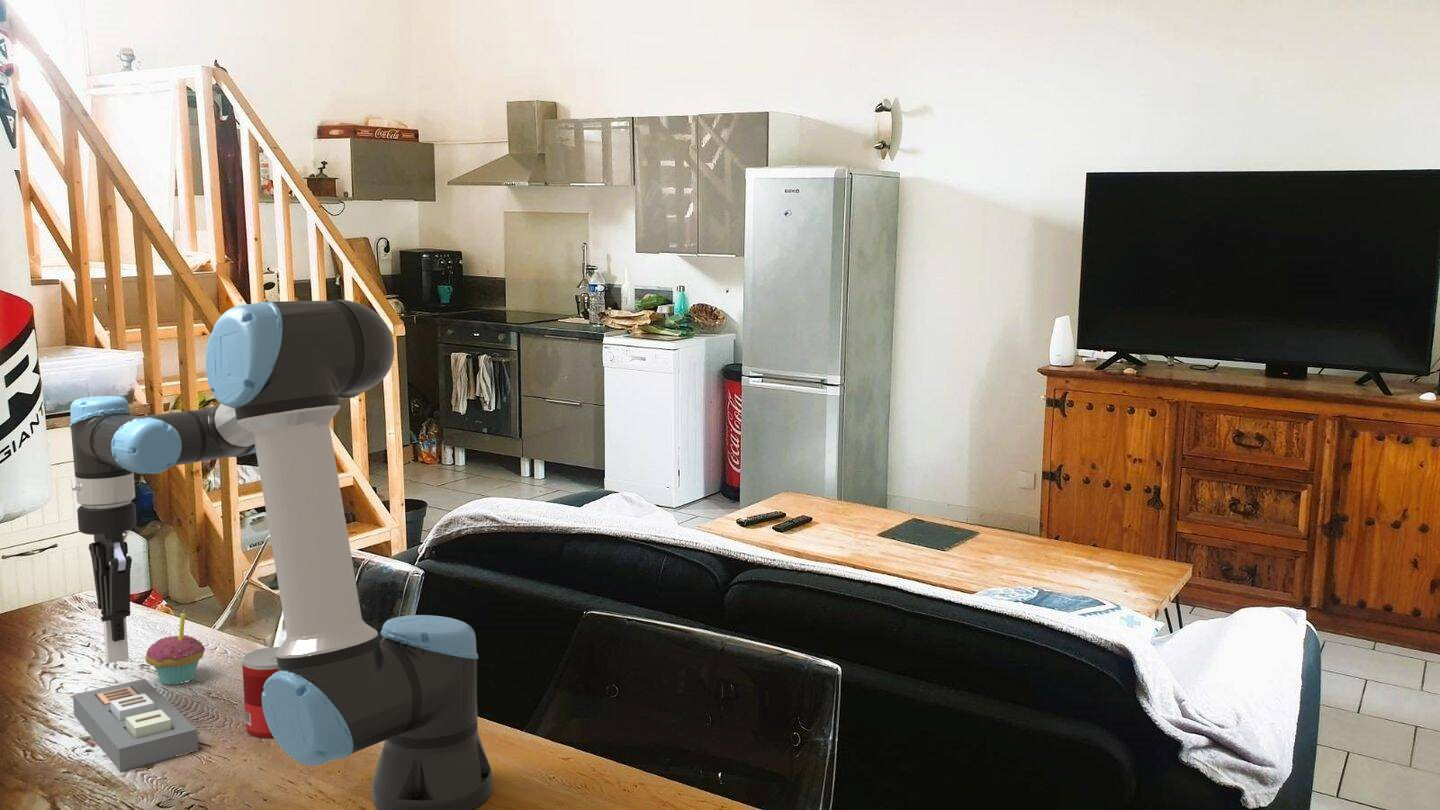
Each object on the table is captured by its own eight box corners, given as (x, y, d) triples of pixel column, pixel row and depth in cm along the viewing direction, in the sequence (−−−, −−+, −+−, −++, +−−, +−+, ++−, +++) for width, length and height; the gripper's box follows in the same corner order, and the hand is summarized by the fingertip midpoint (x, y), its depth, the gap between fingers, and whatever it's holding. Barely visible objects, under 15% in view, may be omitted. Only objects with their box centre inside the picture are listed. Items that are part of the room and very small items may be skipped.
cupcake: (216, 672, 192) (213, 601, 191) (184, 692, 184) (180, 618, 182) (169, 668, 194) (165, 598, 192) (135, 687, 185) (130, 614, 184)
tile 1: (171, 734, 163) (170, 718, 163) (136, 743, 160) (135, 727, 160) (161, 724, 166) (160, 708, 166) (126, 732, 163) (125, 716, 163)
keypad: (198, 750, 164) (197, 729, 163) (120, 771, 157) (118, 749, 156) (146, 698, 181) (144, 678, 181) (74, 715, 175) (72, 694, 174)
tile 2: (155, 717, 169) (154, 701, 168) (120, 726, 166) (119, 710, 165) (145, 707, 172) (144, 692, 172) (111, 715, 169) (110, 700, 169)
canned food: (284, 741, 167) (281, 667, 165) (233, 735, 169) (230, 662, 167) (313, 720, 174) (310, 649, 173) (264, 714, 176) (261, 644, 174)
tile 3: (140, 709, 174) (139, 694, 174) (106, 718, 171) (105, 702, 171) (130, 700, 178) (130, 685, 177) (97, 708, 175) (96, 693, 174)
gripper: (66, 499, 172) (77, 654, 175) (89, 514, 163) (101, 678, 166) (121, 492, 177) (131, 643, 180) (147, 506, 168) (158, 665, 171)
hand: (117, 659), depth 173 cm, fingers closed
